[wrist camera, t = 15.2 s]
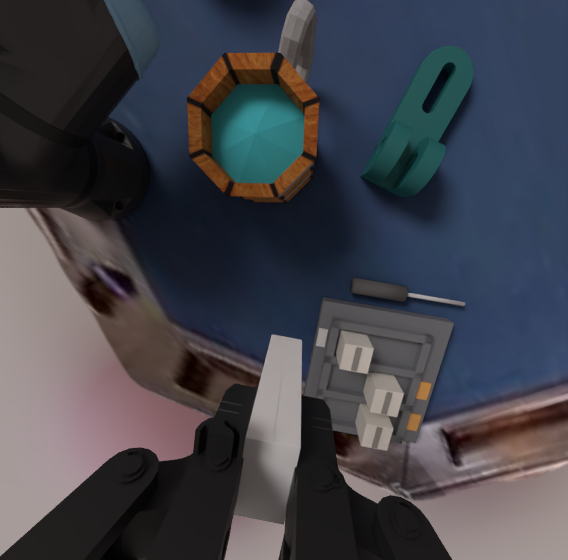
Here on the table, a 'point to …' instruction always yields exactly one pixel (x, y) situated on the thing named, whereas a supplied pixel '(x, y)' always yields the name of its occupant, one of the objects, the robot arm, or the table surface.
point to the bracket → (420, 125)
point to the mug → (259, 116)
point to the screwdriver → (390, 291)
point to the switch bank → (377, 362)
